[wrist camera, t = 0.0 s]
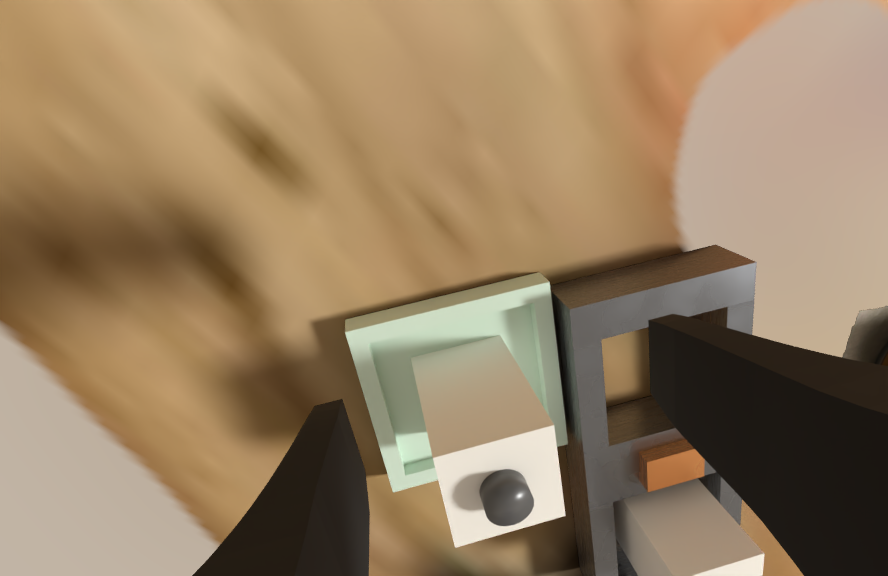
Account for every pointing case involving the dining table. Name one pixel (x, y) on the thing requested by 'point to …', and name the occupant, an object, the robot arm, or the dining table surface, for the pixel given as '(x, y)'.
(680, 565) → the pull-out knob drawer
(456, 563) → the dining table surface
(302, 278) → the dining table surface
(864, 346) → the condiment
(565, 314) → the small drawer cabinet
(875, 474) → the robot arm
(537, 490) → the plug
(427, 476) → the tray
